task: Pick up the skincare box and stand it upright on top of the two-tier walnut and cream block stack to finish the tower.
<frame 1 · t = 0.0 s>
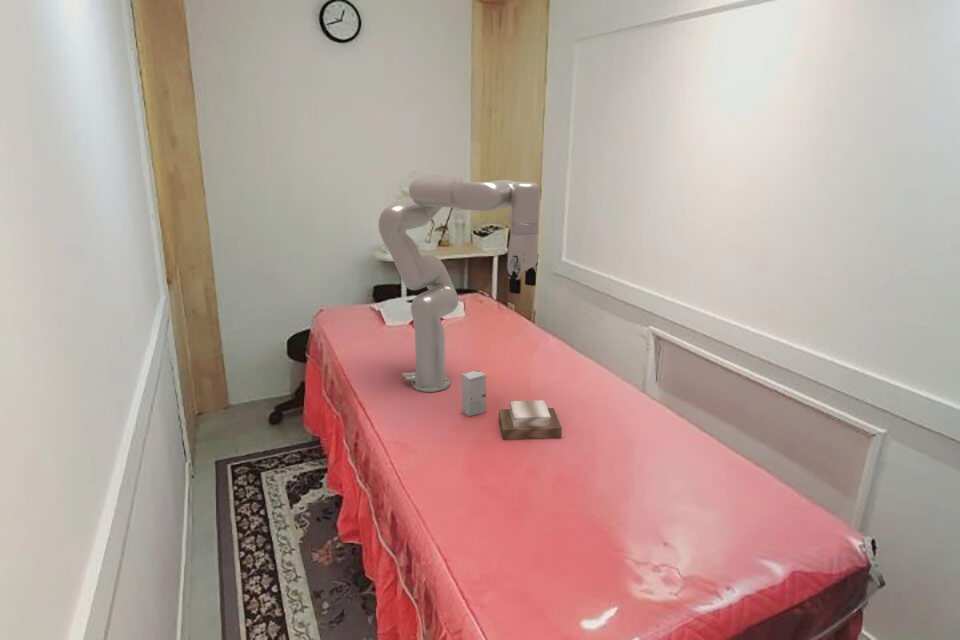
hand: (522, 288, 165), 37 cm above the table, tool pointing down, fingers open, 9 cm apart
skincare box: (473, 412, 174), on the table
block stack: (529, 427, 165), on the table
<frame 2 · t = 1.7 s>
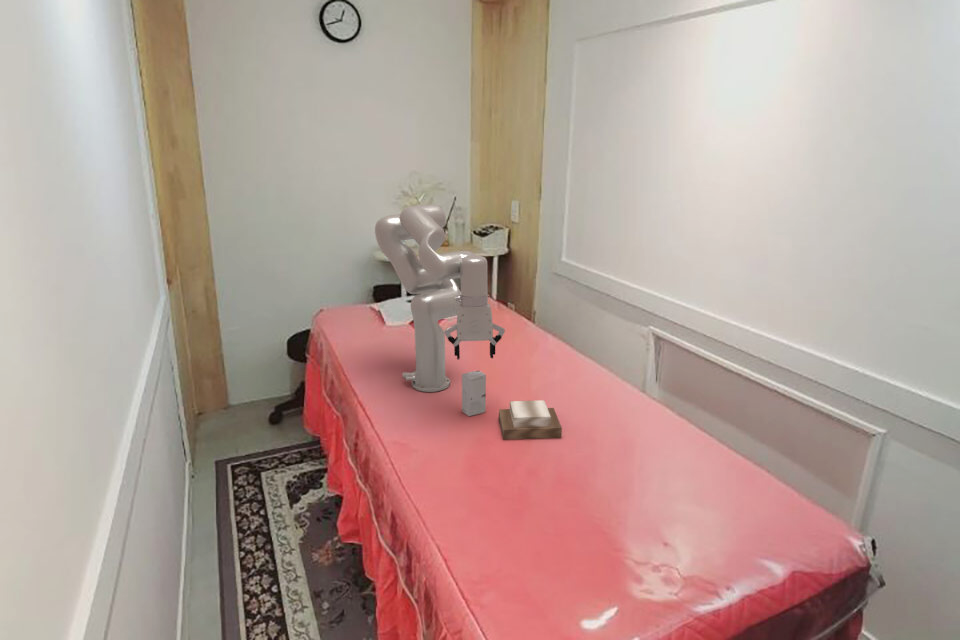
hand: (474, 357, 168), 18 cm above the table, tool pointing down, fingers open, 9 cm apart
nothing on the table moved.
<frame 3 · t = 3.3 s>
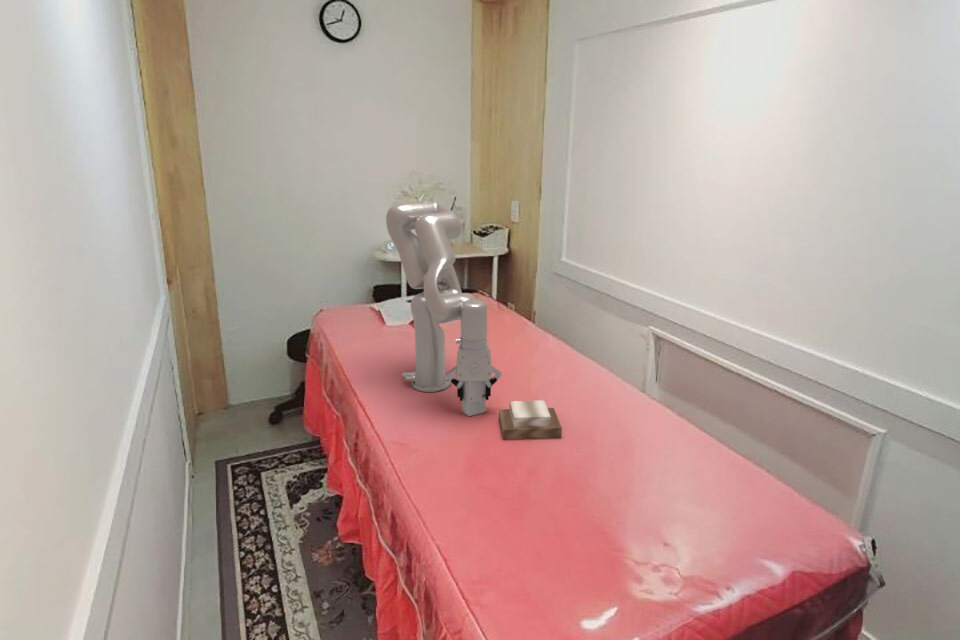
hand: (474, 398, 173), 4 cm above the table, tool pointing down, fingers closed on skincare box, 7 cm apart
skincare box: (473, 412, 174), on the table, touching gripper
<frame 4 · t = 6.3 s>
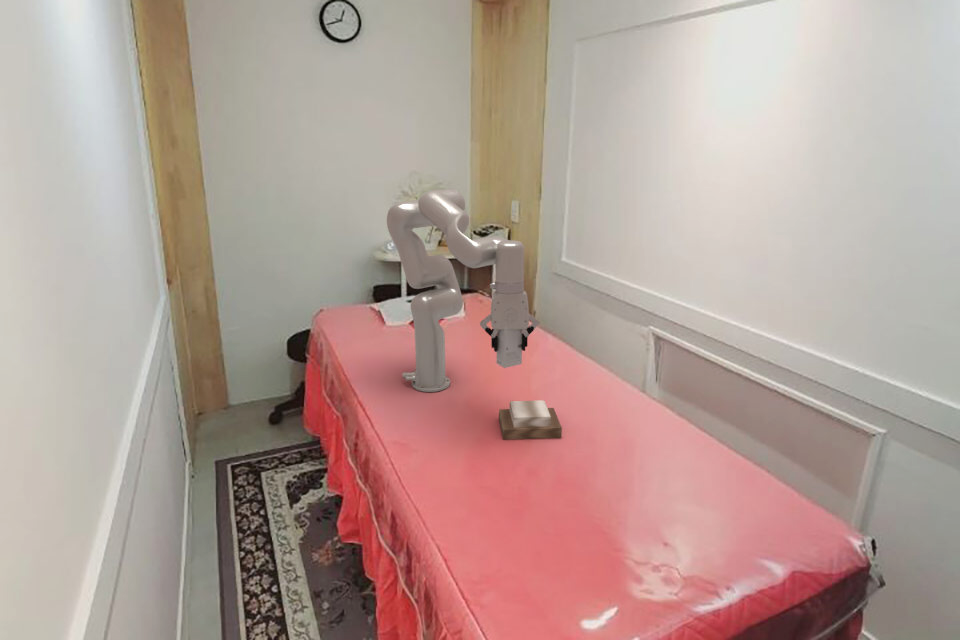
hand: (509, 349, 161), 22 cm above the table, tool pointing down, fingers closed on skincare box, 7 cm apart
skincare box: (509, 364, 162), point 18 cm above the table, touching gripper
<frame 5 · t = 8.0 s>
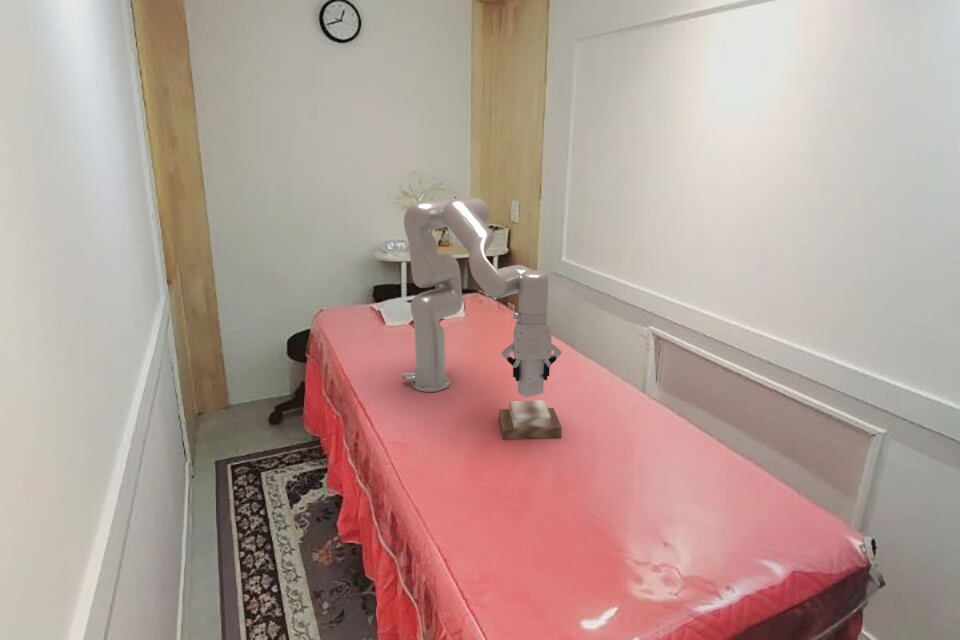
hand: (530, 378, 160), 15 cm above the table, tool pointing down, fingers closed on skincare box, 7 cm apart
skincare box: (530, 393, 161), point 11 cm above the table, touching gripper
when the fingers open (12 cm above the table, at t = 9.5 s): skincare box drops 2 cm, resting on block stack.
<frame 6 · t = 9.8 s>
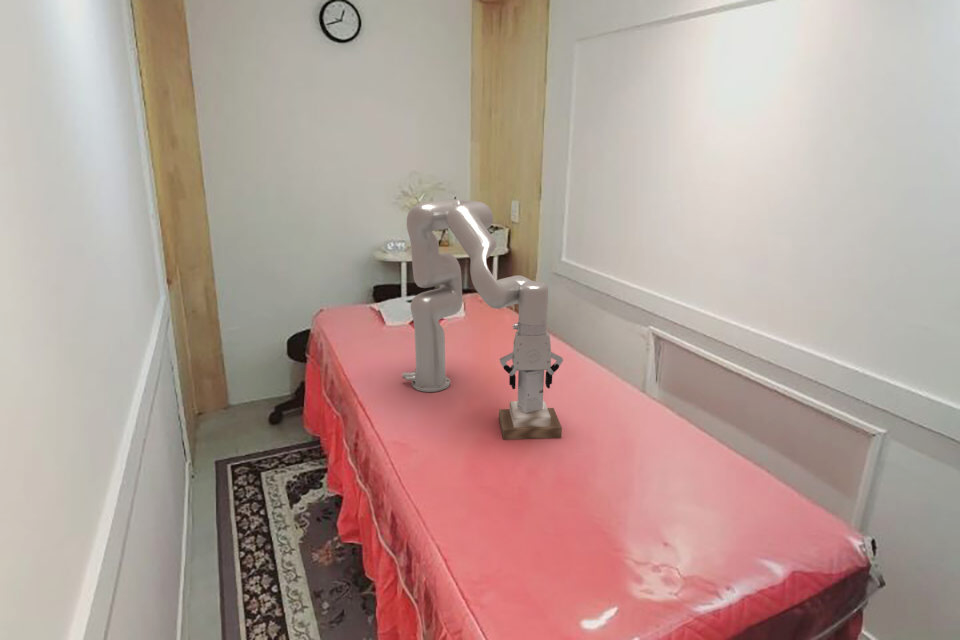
hand: (530, 386, 161), 13 cm above the table, tool pointing down, fingers open, 9 cm apart
skincare box: (530, 409, 163), point 6 cm above the table, touching block stack
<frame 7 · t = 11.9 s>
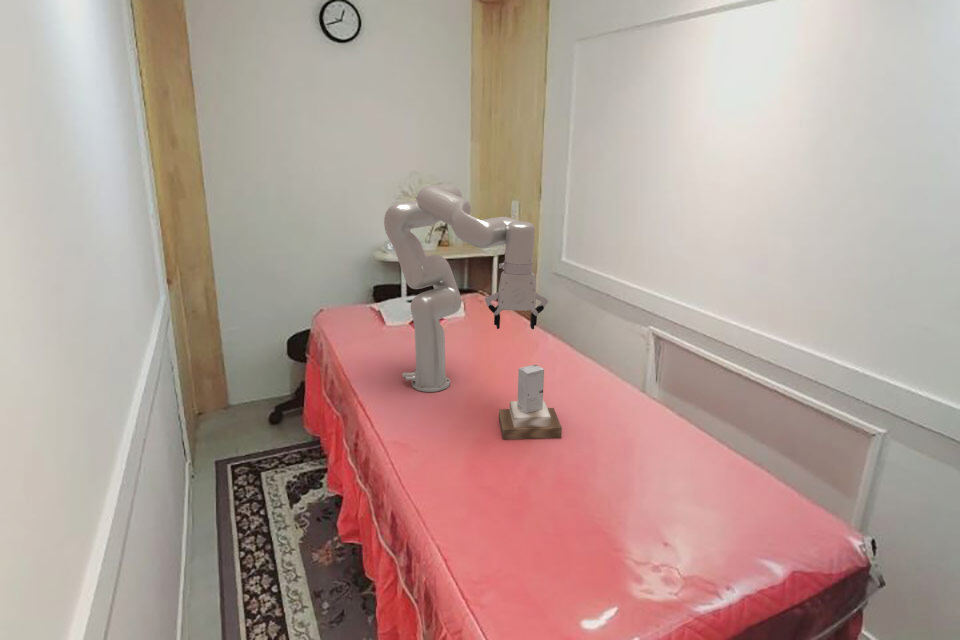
hand: (514, 327, 163), 28 cm above the table, tool pointing down, fingers open, 9 cm apart
nothing on the table moved.
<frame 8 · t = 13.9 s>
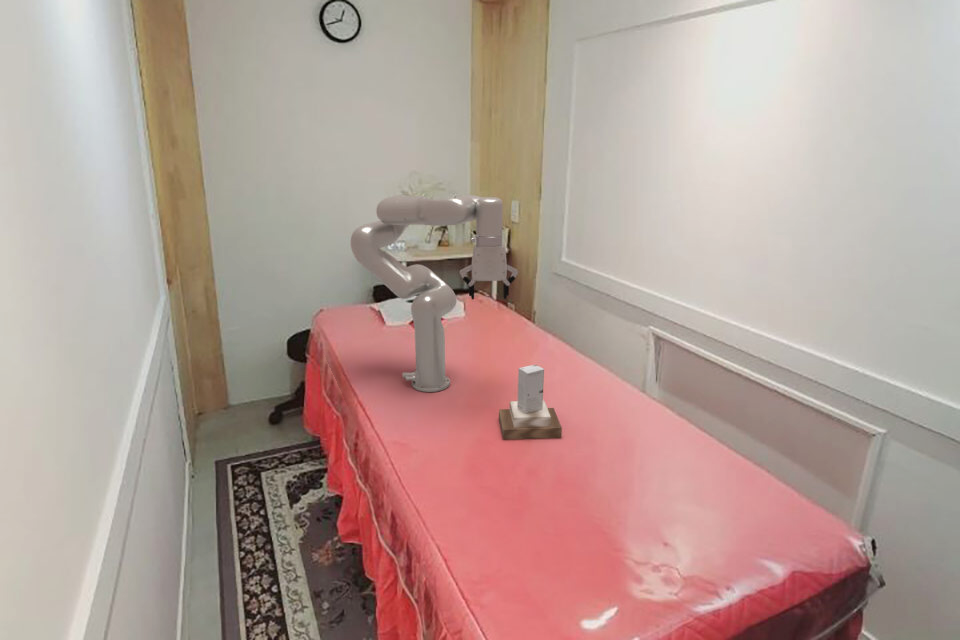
hand: (488, 297, 174), 32 cm above the table, tool pointing down, fingers open, 9 cm apart
nothing on the table moved.
at the end: skincare box inside the target area on the block stack (0.2 cm from its centre), point 5.8 cm above the block stack's base; skincare box tilted 0°; the gripper is holding nothing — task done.
